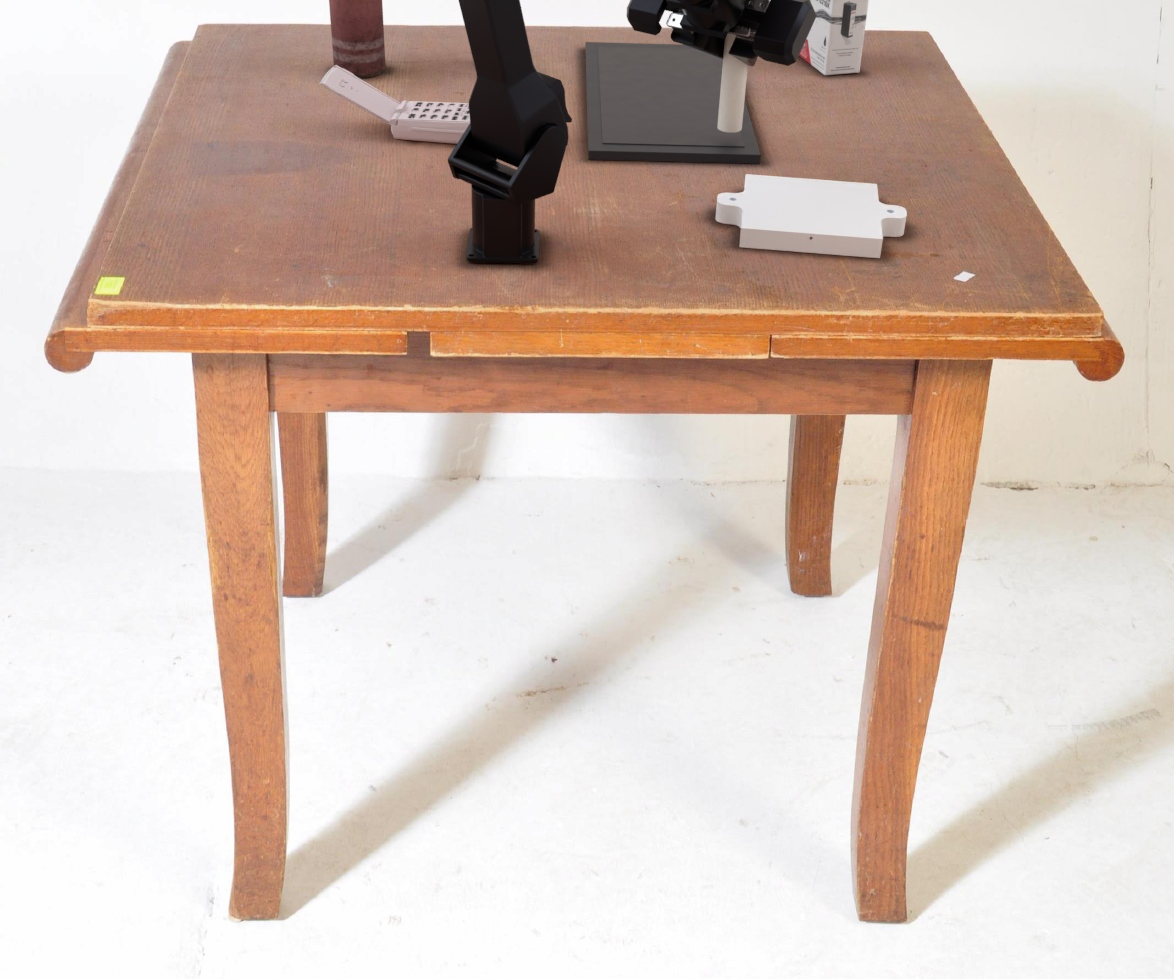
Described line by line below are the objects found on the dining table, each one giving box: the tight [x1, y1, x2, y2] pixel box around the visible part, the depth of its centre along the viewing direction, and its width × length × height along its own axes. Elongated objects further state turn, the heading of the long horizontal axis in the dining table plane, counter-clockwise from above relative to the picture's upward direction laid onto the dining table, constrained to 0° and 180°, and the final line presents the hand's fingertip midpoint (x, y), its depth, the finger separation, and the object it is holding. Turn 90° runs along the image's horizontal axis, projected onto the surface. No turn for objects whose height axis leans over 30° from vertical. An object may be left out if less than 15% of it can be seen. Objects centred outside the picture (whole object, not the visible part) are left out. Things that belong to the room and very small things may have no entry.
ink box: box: [798, 0, 870, 76], centre depth 174 cm, size 8×5×12 cm, turn 17°
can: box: [328, 0, 387, 79], centre depth 167 cm, size 6×6×14 cm
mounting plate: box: [715, 173, 908, 259], centre depth 138 cm, size 18×13×2 cm
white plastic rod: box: [717, 34, 749, 133], centre depth 148 cm, size 3×3×14 cm
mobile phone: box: [318, 65, 470, 145], centre depth 153 cm, size 6×6×25 cm
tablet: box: [584, 41, 762, 165], centre depth 165 cm, size 36×18×1 cm, turn 1°
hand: (741, 59), depth 149 cm, fingers closed on white plastic rod, 2 cm apart
